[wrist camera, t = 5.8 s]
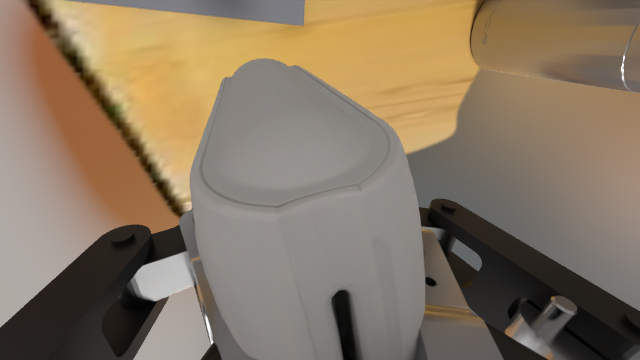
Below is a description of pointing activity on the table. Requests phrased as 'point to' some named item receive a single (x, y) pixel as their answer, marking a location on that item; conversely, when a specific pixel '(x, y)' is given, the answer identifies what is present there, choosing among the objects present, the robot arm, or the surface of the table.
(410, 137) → the table surface
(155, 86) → the table surface
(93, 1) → the dock
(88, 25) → the table surface
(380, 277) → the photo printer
